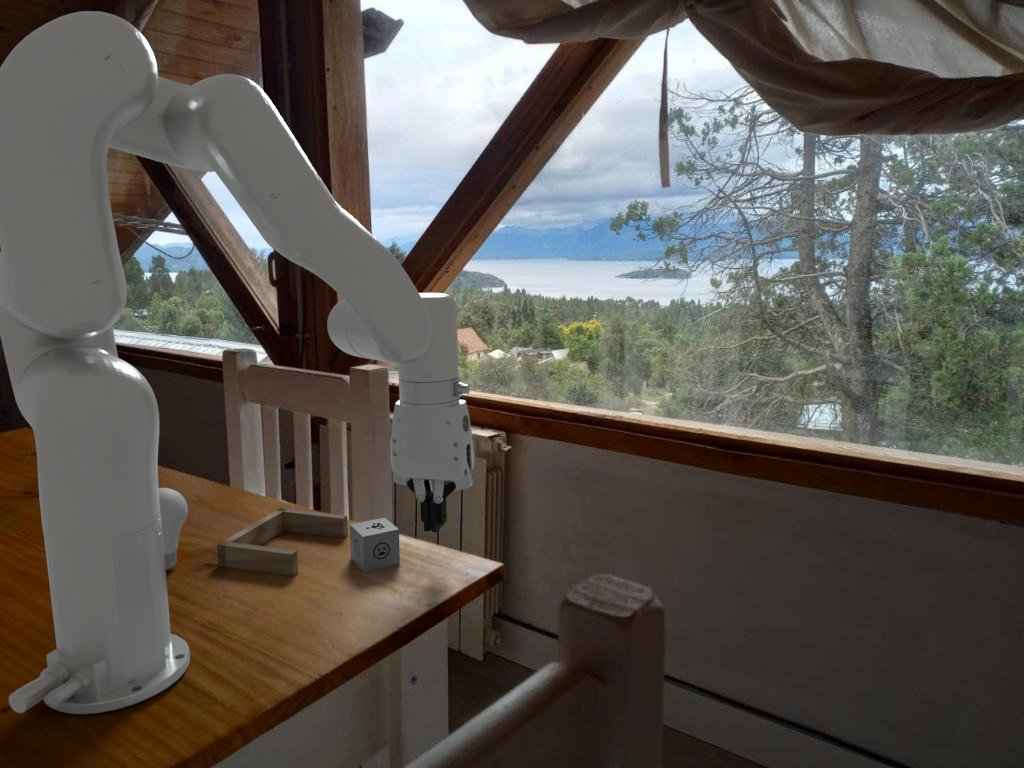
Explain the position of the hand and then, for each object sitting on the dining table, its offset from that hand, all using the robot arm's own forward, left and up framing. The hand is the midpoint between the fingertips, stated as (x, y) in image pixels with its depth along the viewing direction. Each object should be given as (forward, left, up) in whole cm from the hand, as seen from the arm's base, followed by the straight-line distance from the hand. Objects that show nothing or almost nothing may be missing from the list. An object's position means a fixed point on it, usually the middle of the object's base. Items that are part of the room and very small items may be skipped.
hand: (434, 527), depth 92 cm
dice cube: (-1, +8, -6) cm, 10 cm away
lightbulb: (-11, +33, -6) cm, 36 cm away
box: (-1, +21, -6) cm, 22 cm away
